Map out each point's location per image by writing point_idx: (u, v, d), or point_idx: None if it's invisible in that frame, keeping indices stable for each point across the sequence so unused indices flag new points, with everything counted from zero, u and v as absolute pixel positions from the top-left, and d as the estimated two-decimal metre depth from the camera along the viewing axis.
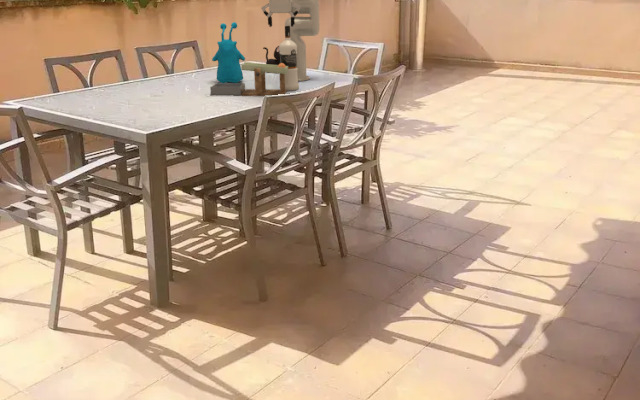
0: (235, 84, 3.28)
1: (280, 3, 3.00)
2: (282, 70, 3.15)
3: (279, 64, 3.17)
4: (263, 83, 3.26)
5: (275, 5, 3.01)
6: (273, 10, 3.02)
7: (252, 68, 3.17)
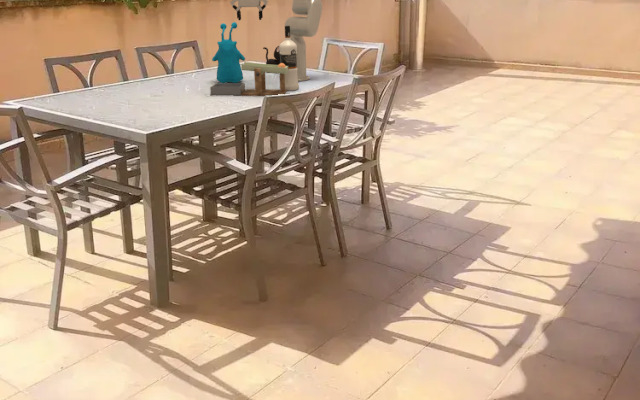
0: (235, 84, 3.28)
1: None
2: (282, 70, 3.15)
3: (279, 64, 3.17)
4: (263, 83, 3.26)
5: None
6: (242, 4, 3.16)
7: (252, 68, 3.17)
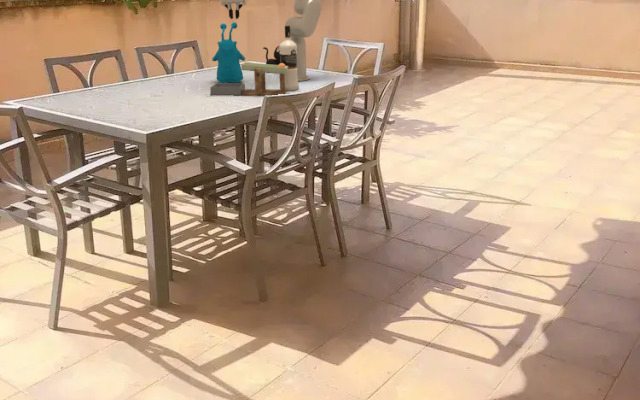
0: (235, 84, 3.28)
1: None
2: (282, 70, 3.15)
3: (279, 64, 3.17)
4: (263, 83, 3.26)
5: None
6: (226, 0, 3.23)
7: (252, 68, 3.17)
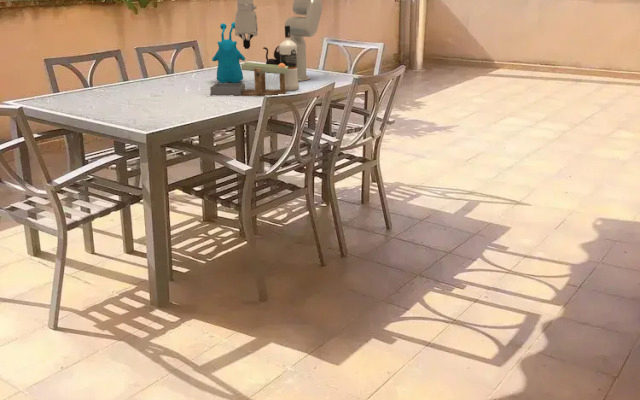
0: (235, 84, 3.28)
1: (245, 24, 3.20)
2: (282, 70, 3.15)
3: (279, 64, 3.17)
4: (263, 83, 3.26)
5: (240, 26, 3.21)
6: (239, 31, 3.22)
7: (252, 68, 3.17)
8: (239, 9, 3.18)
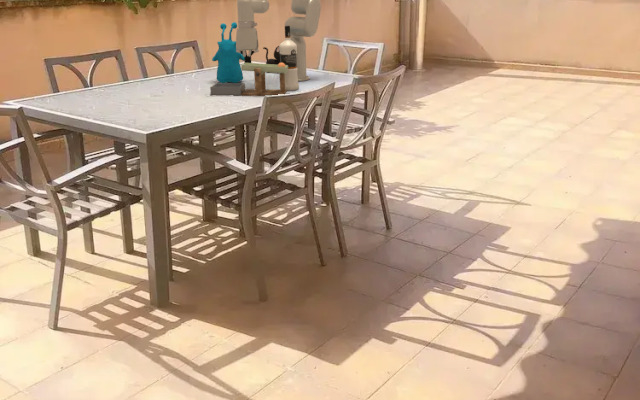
0: (235, 84, 3.28)
1: (246, 41, 3.23)
2: (282, 69, 3.15)
3: (279, 64, 3.17)
4: (263, 83, 3.26)
5: (241, 43, 3.24)
6: (240, 47, 3.25)
7: (252, 68, 3.17)
8: (240, 26, 3.20)
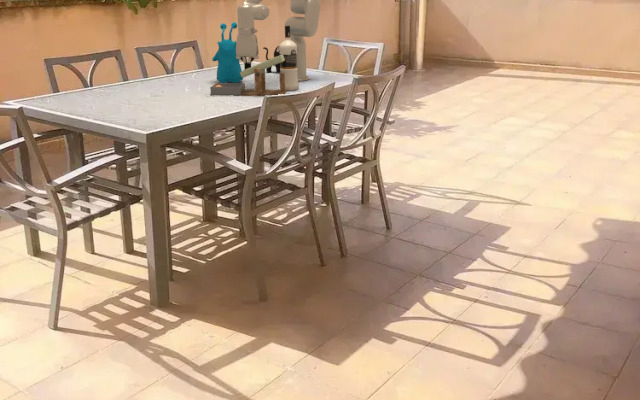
0: (235, 84, 3.28)
1: (246, 48, 3.24)
2: (278, 59, 3.14)
3: (219, 86, 3.23)
4: (263, 83, 3.26)
5: (241, 49, 3.25)
6: (240, 54, 3.26)
7: (251, 71, 3.17)
8: (240, 33, 3.22)
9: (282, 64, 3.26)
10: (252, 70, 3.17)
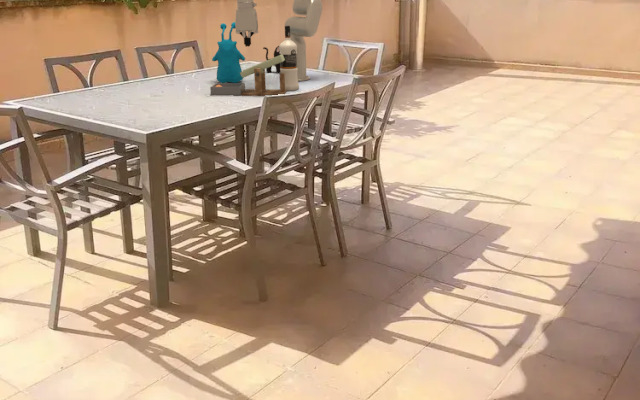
0: (235, 84, 3.28)
1: (245, 22, 3.20)
2: (278, 59, 3.14)
3: (219, 86, 3.23)
4: (263, 83, 3.26)
5: (241, 24, 3.21)
6: (239, 28, 3.22)
7: (251, 71, 3.17)
8: (239, 7, 3.18)
9: (282, 64, 3.26)
10: (252, 70, 3.17)
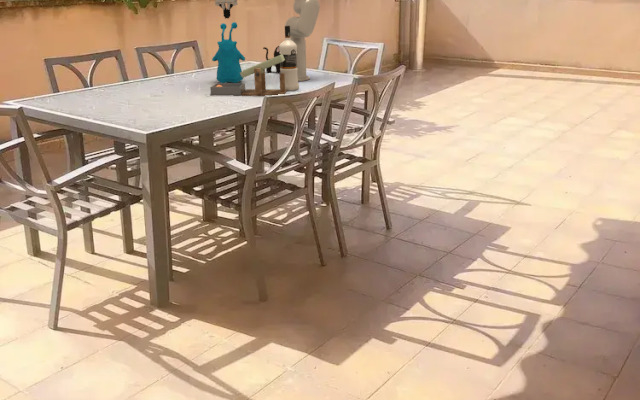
0: (235, 84, 3.28)
1: None
2: (278, 59, 3.14)
3: (220, 86, 3.23)
4: (263, 83, 3.26)
5: None
6: (218, 0, 3.26)
7: (251, 71, 3.17)
8: None
9: (282, 64, 3.26)
10: (252, 70, 3.17)
